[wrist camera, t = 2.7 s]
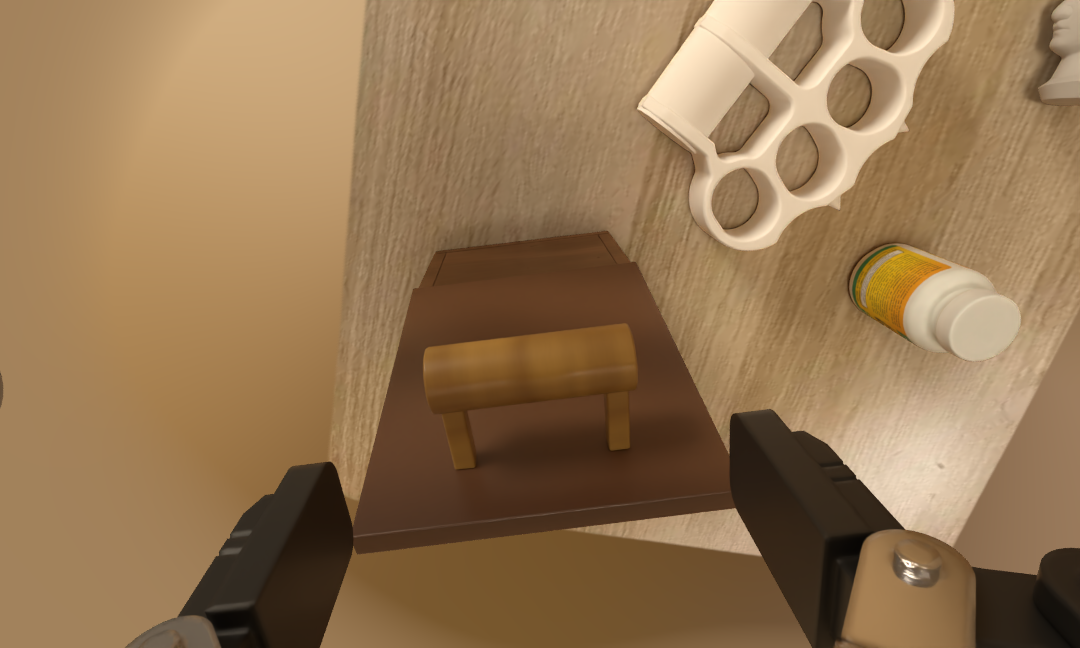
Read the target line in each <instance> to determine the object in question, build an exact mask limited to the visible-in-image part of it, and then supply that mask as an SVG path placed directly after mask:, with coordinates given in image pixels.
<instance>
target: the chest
mask: <svg viewBox="0 0 1080 648" xmlns="http://www.w3.org/2000/svg"><path fill="white" fill-rule="evenodd" d="M623 263H631V262H630V261H629V259H628V258H627V256H626V255H625V254H624V252H623V251H622V250H621V248H620V247H619V246H618V244H617V243H616V241H615V240H614V239H613V237H612V236H611V235H610V233H609V232H608V231H601V232H593V233H584V234H576V235H568V236H560V237H551V238H543V239H535V240H526V241H518V242H510V243H501V244H493V245H485V246H476V247H468V248H460V249H452V250H443V251H436V253H435V254H434V256H433V258H432V260H431V263H430V265H429V267H428V269H427V271H426V273H425V275H424V277H423V279H422V281H421V284H420V286H419V288H424V287H432V286H440V285H449V284H457V283H465V282H473V281H482V280H490V279H498V278H507V277H515V276H523V275H531V274H540V273H548V272H556V271H565V270H573V269H581V268H589V267H598V266H606V265H614V264H623Z"/></svg>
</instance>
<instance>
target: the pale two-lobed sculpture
mask: <svg viewBox="0 0 1080 648" xmlns="http://www.w3.org/2000/svg"><path fill="white" fill-rule="evenodd" d="M1051 19H1052V20H1053V22H1054V25H1053V31H1054V33H1053V39H1052V40H1051V42H1050V45H1049V48H1050V49H1051V50H1052V51H1053V52H1054V53H1056V54H1058V55H1059V56H1060V57H1061V58H1062V59H1061V61H1060V63H1059V65H1058V67H1057V69H1056V71H1055V72H1054V74H1053V76H1052V77H1051V79H1050V80H1049V81H1048V82H1046V83H1045V84H1043V85H1042V86H1040V87H1039V88H1038V91H1039V95H1040V99H1041V102H1042V103H1045V104H1049V105H1057V106H1075V105H1080V0H1064V1H1063V2H1062V3H1061V4H1060V5H1059V6H1058V7H1057V8H1056V9H1055V10H1054V11H1053V13H1052V15H1051Z"/></svg>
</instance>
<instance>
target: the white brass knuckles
mask: <svg viewBox="0 0 1080 648" xmlns="http://www.w3.org/2000/svg"><path fill="white" fill-rule="evenodd" d="M864 1H865V0H714V2H713V3H712V4H711V6H710V7H709V9H708V10H707V11H706V13H705V14H704V16H703V17H701V18H700V19H699V20H698V21H697V23H696V24H695V26H694V30H693V31H692V32H691V34H690V35H689V37H688V38H687V39H686V41H685V42H684V44H683V45H682V46H681V48H680V49H679V51H678V52H677V53H676V55H675V56H674V58H673V59H672V60H671V62H670V63H669V65H668V66H667V67H666V69H665V70H664V72H663V73H662V74H661V76H660V77H659V79H658V80H657V81H656V83H655V84H654V86H653V87H652V88H651V90H650V91H649V93H648V94H647V95H646V96H644V97H643V98H642V100H641V101H640V103H639V104H638V108H637V111H638V112H639V113H640V114H641V115H642V116H644V117H645V118H646V119H647V120H648V121H649V122H650V123H652V124H653V125H654V126H655V127H656V128H658V129H659V130H660V131H661V132H663V133H664V134H665V135H667V136H668V137H669V138H671V139H672V140H673V141H675V142H676V143H677V144H679V145H680V146H681V147H683V148H684V149H686V150H687V151H689V152H690V153H692V157H693V161H694V166H695V174H694V176H693V179H692V181H691V185H690V190H689V205H690V210H691V213H692V215H693V218H694V220H695V221H696V223H697V224H698V226H699V227H700V228H701V229H702V230H703V231H704V232H706V233H707V234H708V235H710V236H711V237H713V238H714V239H716V240H717V241H719V242H720V243H722V244H723V245H725V246H727V247H729V248H732V249H735V250H740V251H755V250H760V249H764V248H767V247H769V246H771V245H773V244H775V243H777V241H778V239H779V237H780V235H781V233H782V232H783V230H784V229H785V228H786V227H787V226H788V224H789V223H790V222H791V221H793V220H794V219H795V218H796V217H798V216H799V215H801V214H802V213H804V212H806V211H808V210H811V209H813V208H817V207H823V206H827V205H828V206H830V207H833V208H835V209H837V210H839V211H840V199H841V195H842V194H843V193H844V192H846V191H847V190H848V189H850V188H851V187H852V186H854V184H855V181H856V178H857V175H858V173H859V171H860V169H861V167H862V166H863V164H864V163H865V161H866V160H867V159H868V158H869V156H870V155H871V154H872V153H873V152H874V151H875V150H877V149H878V148H879V147H881V146H882V145H883V144H885V143H887V142H889V141H891V140H893V139H894V138H895V137H896V135H897V133H899V132H908V131H909V129H908V127H907V125H906V123H905V121H904V120H905V119H906V117H907V115H908V113H909V111H910V110H911V108H912V106H913V93H914V88H915V84H916V81H917V78H918V76H919V74H920V72H921V70H922V68H923V66H924V65H925V63H926V62H927V60H928V59H929V58H930V57H931V56H932V54H933V53H934V52H935V51H936V50H937V49H938V48H940V47H941V46H942V45H943V44H945V43H946V42H947V41H948V39H949V37H950V34H951V31H952V27H953V22H954V0H902V2H903V5H904V9H905V21H904V26H903V29H902V32H901V34H900V36H899V38H898V39H897V41H896V42H895V43H894V44H893V46H892V47H891V48H889V49H888V50H887V51H886V50H883V49H881V48H878V47H876V46H874V45H872V44H871V43H870V42H869V41H868V40H867V38H866V37H865V35H864V33H863V30H862V26H861V11H862V7H863V3H864ZM811 2H817V3H819V4H820V6H821V7H822V10H823V17H822V35H823V42H822V45H821V47H820V49H819V50H818V51H817V53H816V54H815V55H814V57H813V58H812V59H811V60H810V62H809V63H808V64H807V65H806V67H805V68H804V69H803V71H802V72H801V73H800V74H799V76H798V77H797V78H796V79H795V81H793V80H791V79H790V78H789V77H788V76H787V75H786V74H785V73H783V72H782V71H781V70H780V69H779V68H778V67H777V66H776V65H774V64H773V63H772V62H771V61H770V60H769V59H768V58H769V57H770V55H771V54H772V53H773V52H774V50H775V49H776V48H777V46H778V45H779V44H780V42H781V41H782V40H783V38H784V37H785V36H786V35H787V33H788V32H789V31H790V29H791V28H792V27H793V25H794V24H795V23H796V21H797V20H798V19H799V18H800V16H801V15H802V14H803V12H804V11H805V10H806V8H807V7H808V6H809V4H810V3H811ZM846 64H850V65H852V66H855V67H857V68H859V69H861V70H862V71H864V72H865V73H866V75H867V76H868V78H869V80H870V82H871V86H872V97H871V102H870V105H869V107H868V109H867V111H866V113H865V114H864V116H863V117H862V118H861V119H860V120H859V121H858V122H857V123H856V124H854V125H852V126H851V127H849V128H845V127H843V126H840V125H839V124H837V123H836V122H835V121H834V120H833V119H832V117H831V116H830V114H829V111H828V108H827V93H828V89H829V86H830V84H831V81H832V80H833V78H834V76H835V75H836V74H837V72H838V71H839V70H840V69H841V68H843V67H844V66H845V65H846ZM749 83H750V84H751V85H753V86H754V87H755V88H756V89H757V90H758V91H760V92H761V93H762V94H763V95H764V96H765V97H766V98H767V99H768V101H769V105H770V108H769V112H768V115H767V116H766V118H765V119H764V120H763V121H762V123H761V124H760V125H759V126H758V128H757V129H756V130H755V132H754V133H753V134H752V135H751V137H750V138H749V139H748V140H747V142H746V143H745V144H744V146H743V147H742V148H741V149H740V150H739V151H737V152H726V153H721V154H717V153H716V148H715V144H714V143H713V142H712V141H711V140H710V139H708V137H709V135H710V134H711V133H712V131H713V130H714V129H715V128H716V126H717V125H718V124H719V122H720V121H721V120H722V118H723V117H724V116H725V114H726V113H727V112H728V110H729V109H730V108H731V107H732V105H733V104H734V103H735V101H736V100H737V99H738V97H739V96H740V95H741V93H742V92H743V91H744V90H745V88H746V87H747V86H748V84H749ZM800 126H804V127H805V128H806V129H807V130H808V131H809V133H810V134H811V136H812V138H813V140H814V142H815V143H816V145H817V148H818V152H819V161H818V166H817V169H816V171H815V173H814V175H813V176H812V178H811V179H810V180H809V181H808V182H807V183H806V184H805V185H803V186H802V187H800V188H798V189H796V190H793V191H788V190H787V188H786V187H785V185H784V183H783V182H782V180H781V178H780V177H779V175H778V172H777V169H776V156H777V152H778V149H779V146H780V144H781V143H782V141H783V140H784V138H785V137H786V136H787V135H788V134H789V133H790V132H791V131H793V130H794V129H796V128H798V127H800ZM741 168H745V169H746V170H747V171H748V173H749V174H750V176H751V177H752V179H753V181H754V182H755V184H756V186H757V188H758V192H759V201H758V206H757V209H756V211H755V213H754V214H753V216H752V217H751V218H750V219H749V220H748V221H747V222H746V223H745V224H743V225H742V226H740V227H737V228H734V229H722V227H721V226H720V224H719V222H718V221H717V219H716V218H715V216H714V214H713V211H712V204H711V202H712V195H713V192H714V190H715V187H716V186H717V184H718V183H719V181H720V180H721V179H722V178H723V177H724V176H725V175H727V174H728V173H730V172H732V171H734V170H736V169H741Z"/></svg>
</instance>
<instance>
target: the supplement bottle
mask: <svg viewBox="0 0 1080 648" xmlns="http://www.w3.org/2000/svg"><path fill="white" fill-rule="evenodd" d="M849 290H850V295H851V298H852V300H853V302H854V304H855V305H856V306H857V308H859V309H860V310H861V311H862V312H864V313H865V314H867V315H868V316H870V317H871V318H873V319H875V320H876V321H878V322H880V323H881V324H883V325H885V326H886V327H888V328H889V329H891V330H892V331H894V332H896V333H897V334H899V335H900V336H902V337H904V338H905V339H907V340H908V341H910V342H912V343H913V344H915V345H916V346H918V347H920V348H922V349H924V350H927V351H930V352H935V353H951V354H953V355H955V356H957V357H959V358H961V359H963V360H966V361H973V362H977V361H984V360H988V359H990V358H993V357H995V356H996V355H998V354H1000V353H1001V352H1003V351H1004V350H1005V349H1006V348H1007V347H1008V346H1009V345H1010V344H1011V343H1012V342H1013V340H1014V339H1015V337H1016V335H1017V333H1018V331H1019V329H1020V324H1021V314H1020V310H1019V308H1018V306H1017V305H1016V304H1015V302H1014V301H1012V300H1011V299H1009V298H1008V297H1006V296H1003V295H1001V294H999V293H997V292H996V290H995V287H994V286H993V284H992V283H991V281H990V280H989V279H988V278H987V277H985V276H984V275H983V274H981V273H979V272H977V271H975V270H972V269H970V268H967V267H965V266H962V265H959V264H957V263H954V262H951V261H949V260H946V259H943V258H941V257H938V256H935V255H933V254H931V253H928V252H925V251H923V250H920V249H918V248H915V247H913V246H909V245H906V244H899V243H893V244H887V245H883V246H881V247H878V248H876V249H875V250H873V251H871V252H870V253H868V254H867V255H865V256H864V257H863V258H862V259H861V260H860V261H859V262H858V264H857V265H856V267H855V268H854V270H853V272H852V275H851V278H850V284H849Z"/></svg>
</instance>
